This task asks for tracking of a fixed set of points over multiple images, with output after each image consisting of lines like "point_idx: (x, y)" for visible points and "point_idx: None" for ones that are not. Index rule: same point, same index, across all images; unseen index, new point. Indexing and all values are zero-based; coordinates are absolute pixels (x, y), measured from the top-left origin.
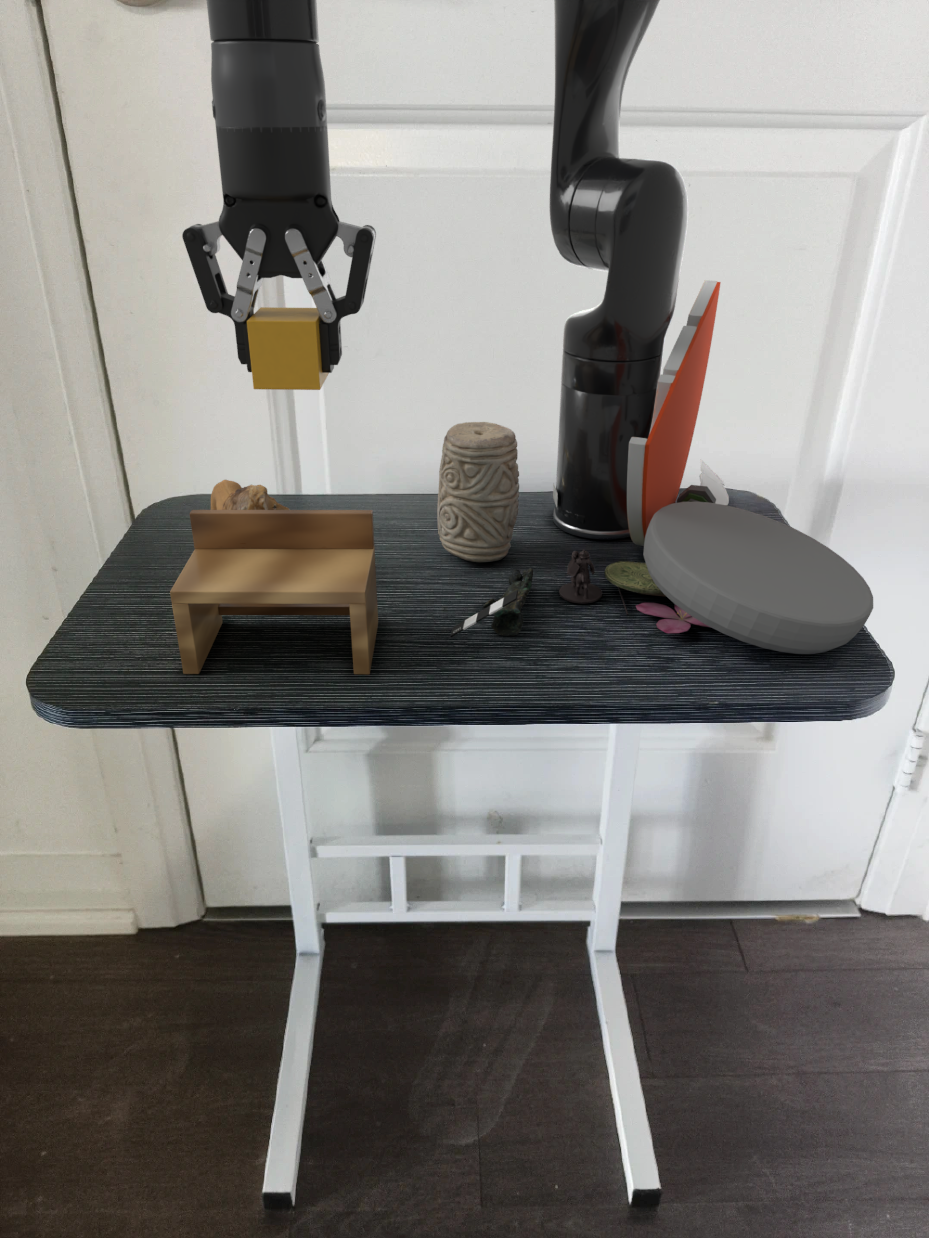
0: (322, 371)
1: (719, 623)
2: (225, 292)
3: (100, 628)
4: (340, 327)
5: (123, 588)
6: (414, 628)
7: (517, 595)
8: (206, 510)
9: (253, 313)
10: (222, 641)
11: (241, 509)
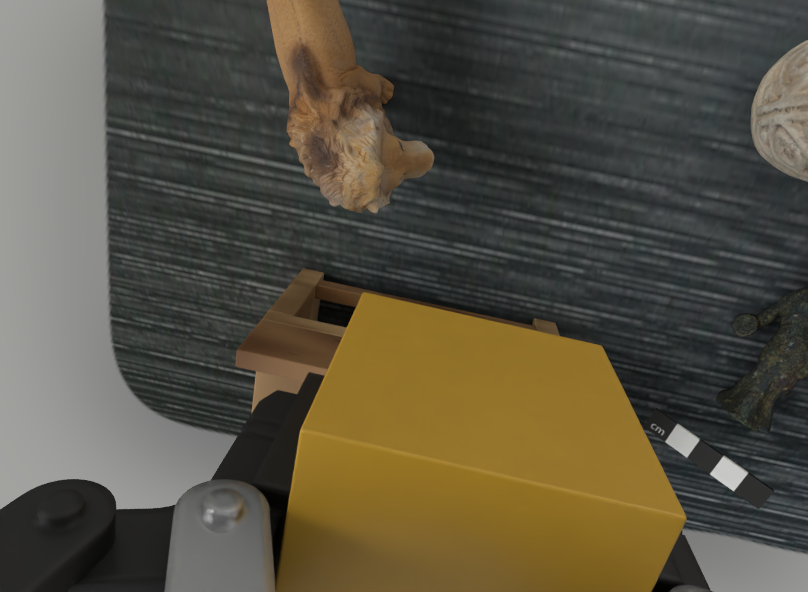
0: None
1: None
2: (70, 584)
3: (150, 251)
4: (704, 585)
5: (148, 118)
6: (605, 348)
7: (792, 374)
8: (265, 359)
9: (272, 542)
10: (328, 323)
11: (330, 204)
